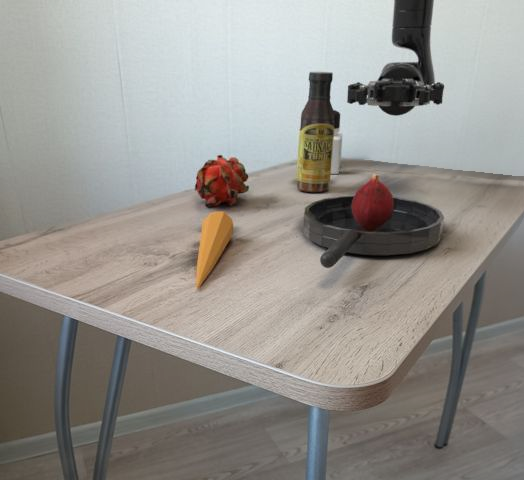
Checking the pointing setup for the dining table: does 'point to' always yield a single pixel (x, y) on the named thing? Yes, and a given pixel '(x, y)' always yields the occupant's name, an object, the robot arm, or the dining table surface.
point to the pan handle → (339, 249)
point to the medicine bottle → (336, 145)
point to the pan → (383, 238)
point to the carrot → (212, 243)
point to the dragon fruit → (221, 181)
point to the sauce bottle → (316, 136)
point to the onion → (372, 204)
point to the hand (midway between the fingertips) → (391, 97)
